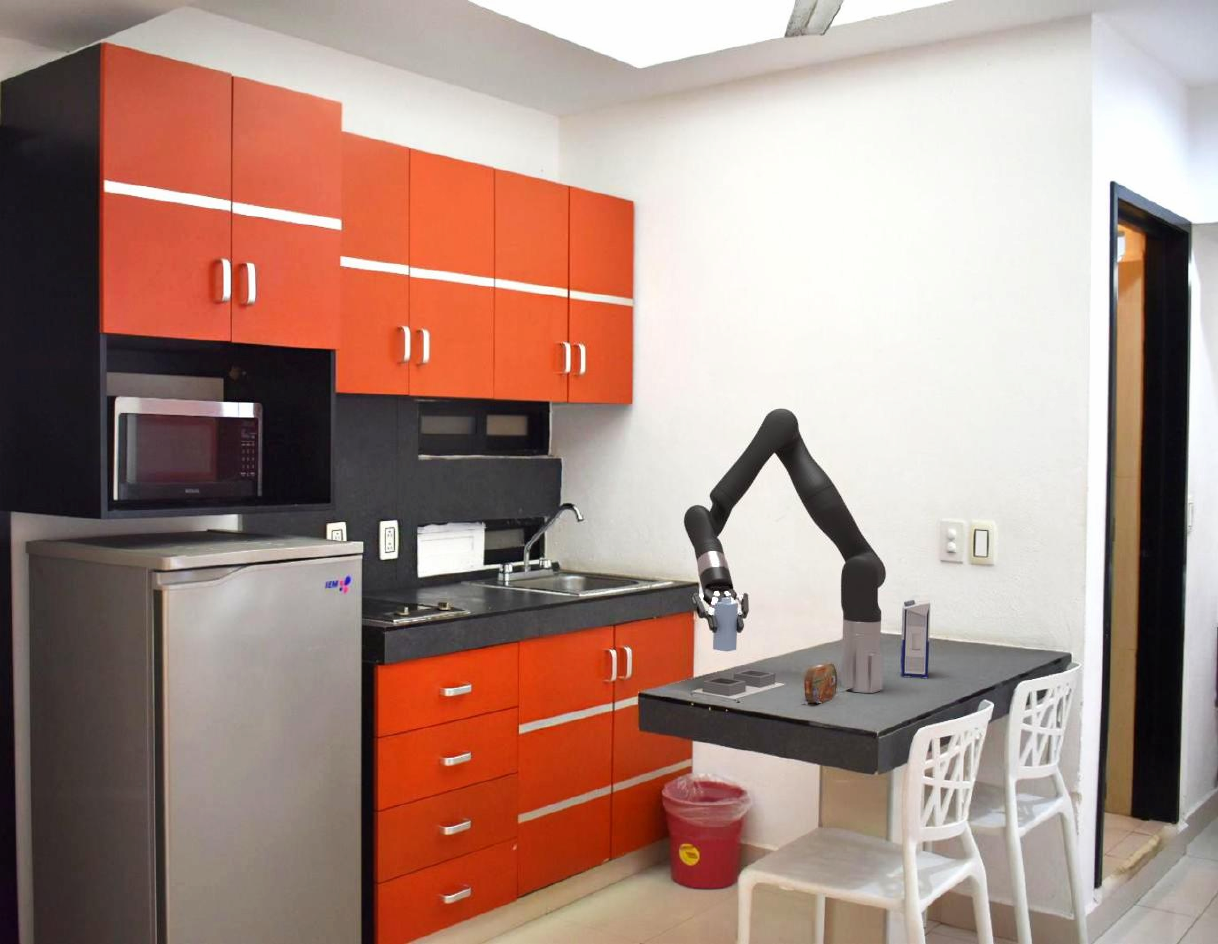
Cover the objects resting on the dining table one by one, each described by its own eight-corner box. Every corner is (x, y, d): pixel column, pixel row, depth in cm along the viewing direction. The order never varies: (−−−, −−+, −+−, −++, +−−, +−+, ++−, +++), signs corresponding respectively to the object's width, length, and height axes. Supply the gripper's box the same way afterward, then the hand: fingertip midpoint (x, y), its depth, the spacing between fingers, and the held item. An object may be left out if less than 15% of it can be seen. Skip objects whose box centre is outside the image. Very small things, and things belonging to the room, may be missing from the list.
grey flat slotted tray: (785, 688, 295) (786, 674, 295) (734, 703, 276) (734, 688, 276) (744, 681, 302) (744, 667, 302) (691, 695, 283) (691, 680, 283)
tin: (813, 707, 274) (814, 670, 274) (801, 705, 276) (802, 668, 276) (838, 696, 287) (839, 661, 287) (825, 694, 289) (826, 660, 288)
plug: (736, 649, 284) (738, 598, 283) (727, 651, 281) (729, 599, 280) (722, 647, 286) (723, 596, 286) (712, 649, 283) (714, 597, 283)
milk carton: (927, 678, 313) (930, 602, 312) (901, 677, 314) (903, 601, 314) (926, 673, 320) (928, 599, 319) (900, 672, 321) (902, 597, 320)
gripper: (689, 564, 289) (702, 621, 277) (746, 565, 292) (761, 621, 280) (682, 583, 294) (694, 640, 283) (738, 584, 297) (752, 640, 286)
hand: (727, 630), depth 282 cm, fingers closed on plug, 5 cm apart
